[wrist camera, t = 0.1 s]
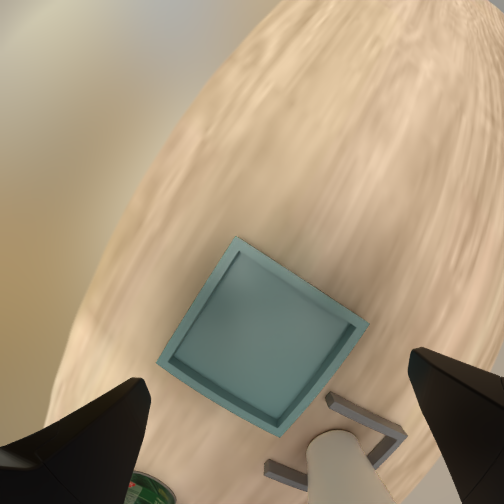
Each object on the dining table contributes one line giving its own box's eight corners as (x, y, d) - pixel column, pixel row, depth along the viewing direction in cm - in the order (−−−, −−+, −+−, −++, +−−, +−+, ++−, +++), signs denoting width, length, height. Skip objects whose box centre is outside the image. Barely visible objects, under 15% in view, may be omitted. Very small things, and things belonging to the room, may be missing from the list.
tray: (279, 426, 24) (279, 437, 22) (163, 355, 24) (155, 363, 22) (362, 318, 23) (369, 323, 21) (238, 237, 24) (235, 235, 22)
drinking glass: (349, 409, 23) (402, 523, 8) (373, 450, 23) (421, 550, 8) (286, 441, 24) (291, 564, 9) (315, 478, 23) (332, 585, 8)
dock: (336, 490, 23) (339, 501, 21) (264, 463, 24) (263, 475, 22) (401, 426, 23) (407, 436, 21) (330, 391, 23) (334, 401, 21)
